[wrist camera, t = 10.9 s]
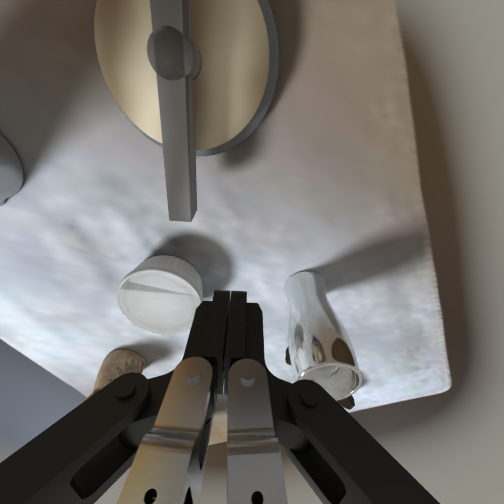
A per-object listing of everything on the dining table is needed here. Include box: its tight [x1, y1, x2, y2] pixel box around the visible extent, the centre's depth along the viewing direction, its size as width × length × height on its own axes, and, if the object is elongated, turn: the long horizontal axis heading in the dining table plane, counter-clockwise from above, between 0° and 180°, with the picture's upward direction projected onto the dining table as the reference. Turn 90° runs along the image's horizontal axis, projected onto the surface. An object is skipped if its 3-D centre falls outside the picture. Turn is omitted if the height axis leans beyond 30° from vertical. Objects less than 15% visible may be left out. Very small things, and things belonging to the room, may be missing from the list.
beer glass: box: [284, 271, 362, 401], centre depth 32 cm, size 7×7×15 cm
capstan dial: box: [94, 0, 269, 222], centre depth 20 cm, size 14×25×6 cm, turn 175°
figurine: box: [88, 349, 145, 398], centre depth 43 cm, size 7×7×12 cm
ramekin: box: [116, 255, 203, 334], centre depth 36 cm, size 11×11×5 cm
